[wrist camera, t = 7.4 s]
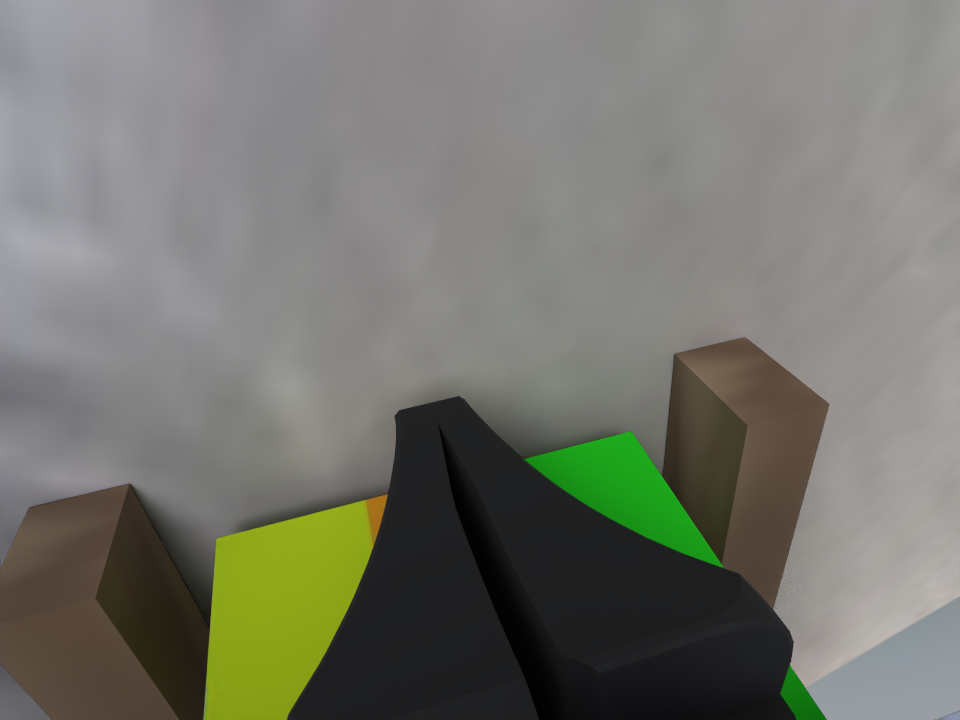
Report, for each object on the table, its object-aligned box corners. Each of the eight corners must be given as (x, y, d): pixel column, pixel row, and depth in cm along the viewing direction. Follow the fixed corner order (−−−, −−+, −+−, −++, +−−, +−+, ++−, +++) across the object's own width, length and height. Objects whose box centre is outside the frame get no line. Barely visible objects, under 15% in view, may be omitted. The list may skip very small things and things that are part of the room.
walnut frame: (242, 813, 21) (237, 922, 19) (28, 507, 13) (-30, 631, 11) (690, 664, 24) (736, 742, 22) (745, 337, 16) (829, 404, 14)
